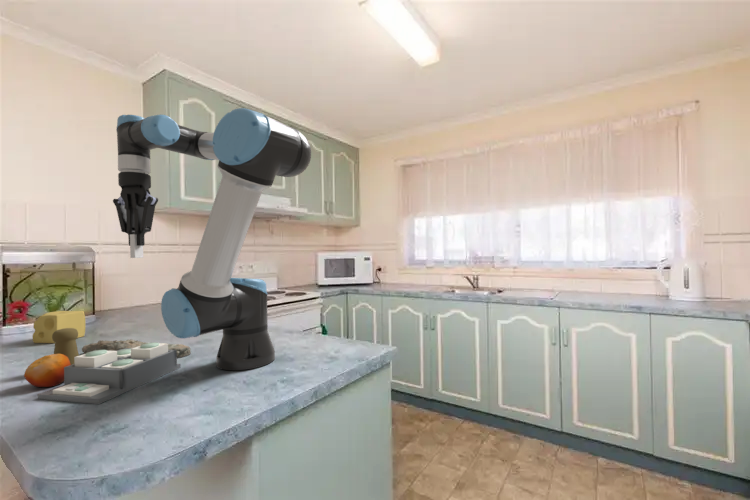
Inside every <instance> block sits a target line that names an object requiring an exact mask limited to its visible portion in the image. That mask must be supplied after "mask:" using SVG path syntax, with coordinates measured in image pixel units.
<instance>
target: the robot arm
mask: <svg viewBox="0 0 750 500" xmlns="http://www.w3.org/2000/svg"><path fill="white" fill-rule="evenodd" d="M116 139H117V140H116V142H117V170H118V171H119V173H118V174H117V177H118V179H117V180H118V181H117V182H118V186H119V187H120V188H121V191H120V196H119V197H118V198H113V200H112V203H113V204H114V206H115V209H116V213H117V216H118V217H117V218H118V222H119V226H120V231H121V232H122V233H126V234H127V236H128V246H129V247H130V248H129V250H130V252H129V253H130V254H129V255H130V258H129V259H139V258H140V259H143V258H144V246H145V244H146V243H145V234H147V233H149V232H151V231H152V227H153V220H154V215H155V210H156V205H157V204H158V202H159V198H158V197H155V196H153V195H151V191H150V189H151V187H152V176H151V175H150V174H151V173H152V172H151V150H155V149H162V150H165V151H169V152H174V153H178V154H182V155H183V154H184V155H188V156H190V157H195V158H199V159H201V160H204V161H205V160H206V161H207V160H208V161H215V160H216V161H218V164H217V168H218V170H219V172H220V173H221V176H222V177H221V179H220V183H219V186H218V188H217V192H216V195H215V198H214V201H213V204H212V207H211V210H210V214H209V216H208V219H207V222H206V225H205V228H204V232H203V235H202V238H201V241H200V242H199V246H198V250H197V253H196V256H195V260H194V262H193V264H192V268H191V270H190V271H188V272H186V273H184V274H182V275H181V278H180V281H179V284H178V287H177V288H171V289H168V290H166V291H165V292H164V294H163V295H162V298H161V302H160V304H161V305H160V310H161V316H162V319H163V323H164V324H165V327H166V329H168V331H169V333H170V334H172V335H173V337H176V338H178V339H188V338H189V339H190V338H197V337H199V336H203V335H208V334H210V333H214V332H215V333H216V332H218V331H221V330H222V338H221V342H220V344H219V348H218V350H217V354H216V360H215V362H216V367H217V368H218V369H220V370H223V371H224V370H225V371H245V370H252V369H257V368H260V367H263V366H266V365H268V364H270V363H273V362H274V361H275V359H276V354H275V353H276V352H275V348H274V344H273V342H272V340H271V337H270V333H269V330H268V329H269V327H268V292H267V291H268V290H267V283H266V281H264V280H263V279H259V278H247V277H245V278H243V277H232V276H233V272H234V270H235V268H236V264H237V262H238V259H239V257H240V253H241V251H242V249H243V245H244V243H245V239H246V237H247V234H248V232H249V229H250V226H251V223H252V220H253V218H254V215H255V212H256V209H257V207H258V204H259V201H260V199H261V195H262V193H263V191H264V190H266V189H269V188H271V187H272V186H273V184H274V182H275V181H274V180H275V179H276V177H277V176H278V177H282V178H283V177H284V178H293V177H296V176H299V175H301V174H302V173H303V172H304V171H306V169H307V168H308V166H309V165H310V163H311V159H312V149H311V148H312V147H311V144H310V142H309V140H308V139H307V137H306V136H305V135H304V134H303V133H302V132H301V131H300V130H298V129H297V128H295V127H293V126H290V125H288V124H285V123H284V122H281V121H279V120H277V119H274V118H272V117H270V116H268V115H266V114H264V113H263V112H259V111H256V110H252V109H249V108H244V107H238V108H234V109H232V110H231V111H230V112H227V113H225V114H224V115H223V116H222V118H220V120H219V121H218V123H217V125H216V126H215V129H214V131H213V132H212V131H211V132H210V131H200V130H197V129H193V128H189V127H186V126H184V125H180V124H178V123H177V122H176V121H175V120H174V119H173V118H171V117H170V116H169V115H166V114H155V115H150V116H147V117H142V116H140V115H135V114H122V115H119V116H118V117H117V122H116Z"/></svg>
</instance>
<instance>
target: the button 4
mask: <svg viewBox="0 0 750 500" xmlns="http://www.w3.org/2000/svg"><path fill="white" fill-rule="evenodd" d="M145 343H146V344H143V345H141V346H138V347H135V348H132V349H131V358H142V359H151V358H154V357H156V356H159V355H162V354H164V353H167V352H168V344H169V343H167V342H166V343H164V342H163V343H162V342H161V343H160V342H145Z"/></svg>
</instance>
